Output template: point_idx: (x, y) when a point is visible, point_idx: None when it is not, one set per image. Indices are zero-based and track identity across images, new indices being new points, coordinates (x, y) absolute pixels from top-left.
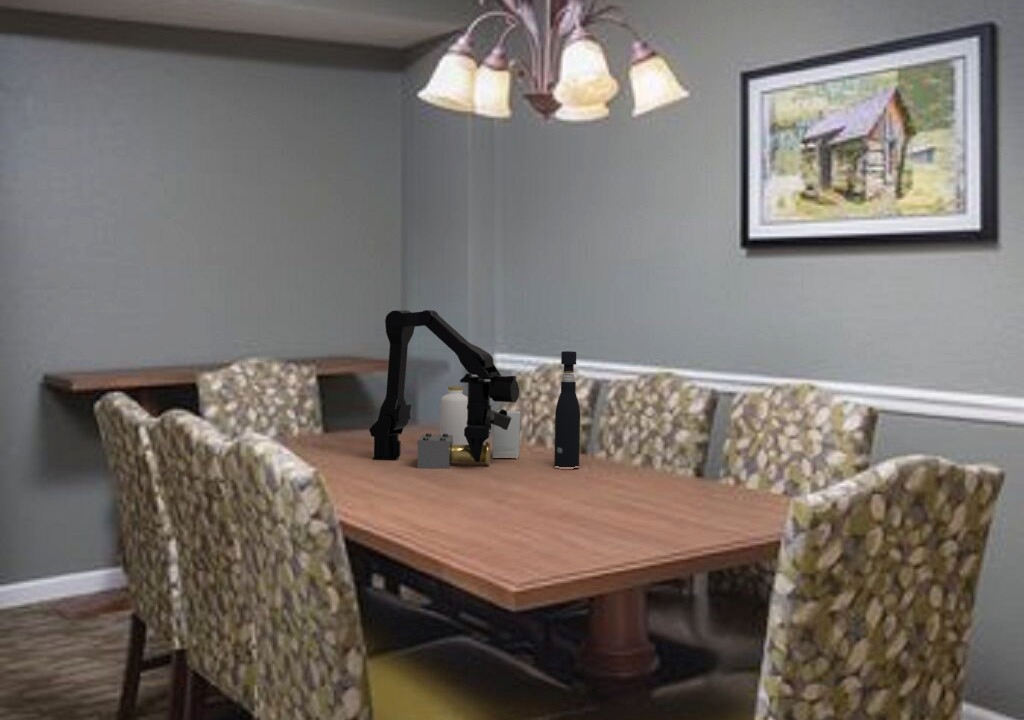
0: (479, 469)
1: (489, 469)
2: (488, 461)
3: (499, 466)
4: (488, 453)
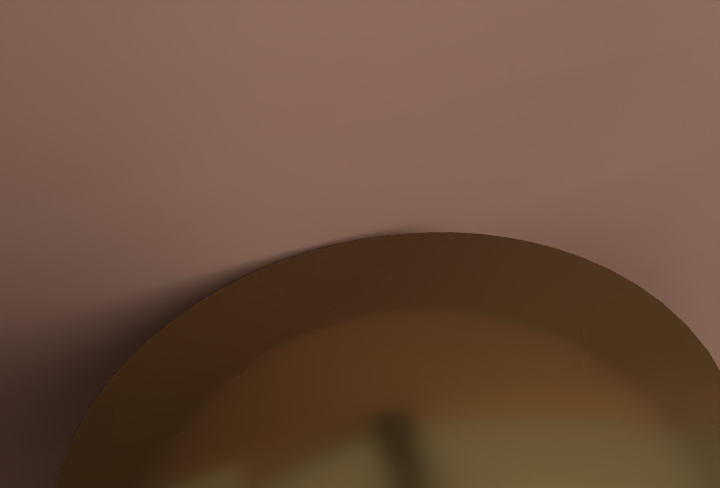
0: (648, 270)
1: (643, 150)
2: (515, 247)
3: (315, 68)
4: (661, 318)
